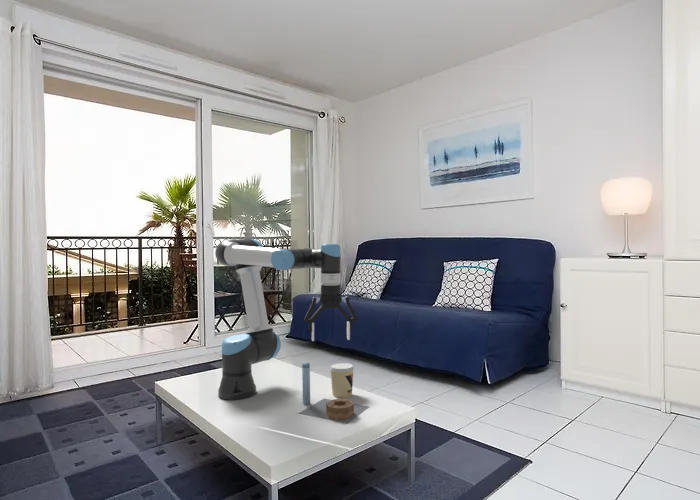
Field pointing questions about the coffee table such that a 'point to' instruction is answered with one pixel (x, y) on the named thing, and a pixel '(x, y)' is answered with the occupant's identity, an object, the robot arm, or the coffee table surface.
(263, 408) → the coffee table surface
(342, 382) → the coffee cup
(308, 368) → the blue rounded-end rod
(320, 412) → the mat
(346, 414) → the bead
